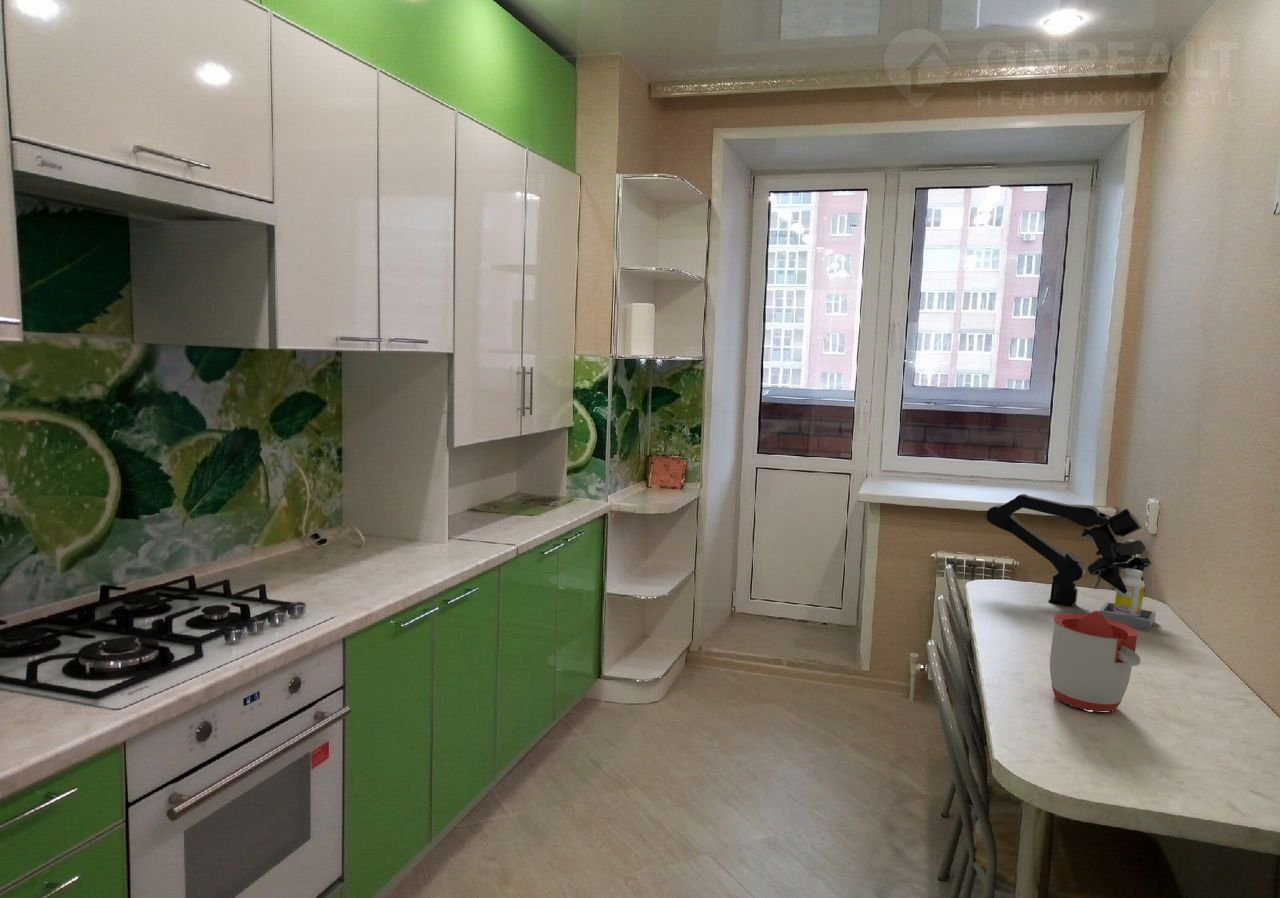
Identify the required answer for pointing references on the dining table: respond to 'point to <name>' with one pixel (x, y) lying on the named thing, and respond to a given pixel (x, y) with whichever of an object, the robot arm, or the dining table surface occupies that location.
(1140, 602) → the supplement bottle
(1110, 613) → the tray
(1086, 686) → the citrus juicer
